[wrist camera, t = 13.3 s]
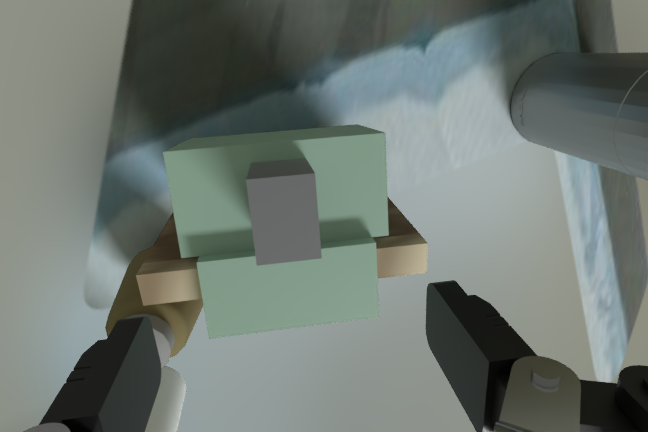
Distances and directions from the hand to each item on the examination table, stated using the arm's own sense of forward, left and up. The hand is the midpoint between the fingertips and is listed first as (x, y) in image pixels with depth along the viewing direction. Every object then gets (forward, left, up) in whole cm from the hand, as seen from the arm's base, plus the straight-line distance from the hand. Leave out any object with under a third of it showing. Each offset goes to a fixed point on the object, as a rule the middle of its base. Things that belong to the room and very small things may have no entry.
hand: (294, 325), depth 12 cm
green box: (0, +3, -20) cm, 20 cm away
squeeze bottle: (+12, +13, -32) cm, 37 cm away
